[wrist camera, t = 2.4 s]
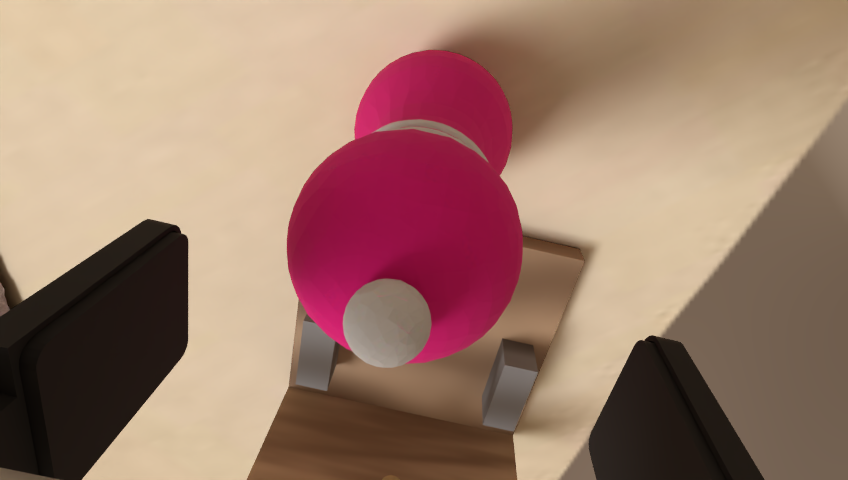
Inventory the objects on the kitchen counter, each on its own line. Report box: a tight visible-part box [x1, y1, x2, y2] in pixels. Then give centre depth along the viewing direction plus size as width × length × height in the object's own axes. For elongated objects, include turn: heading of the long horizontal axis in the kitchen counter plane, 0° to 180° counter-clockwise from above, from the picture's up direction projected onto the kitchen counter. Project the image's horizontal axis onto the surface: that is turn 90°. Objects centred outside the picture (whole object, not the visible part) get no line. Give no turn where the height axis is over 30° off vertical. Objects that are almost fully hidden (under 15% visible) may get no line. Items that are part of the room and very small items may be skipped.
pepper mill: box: [287, 50, 523, 368], centre depth 18 cm, size 7×7×20 cm
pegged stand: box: [247, 236, 585, 480], centre depth 29 cm, size 16×16×10 cm
